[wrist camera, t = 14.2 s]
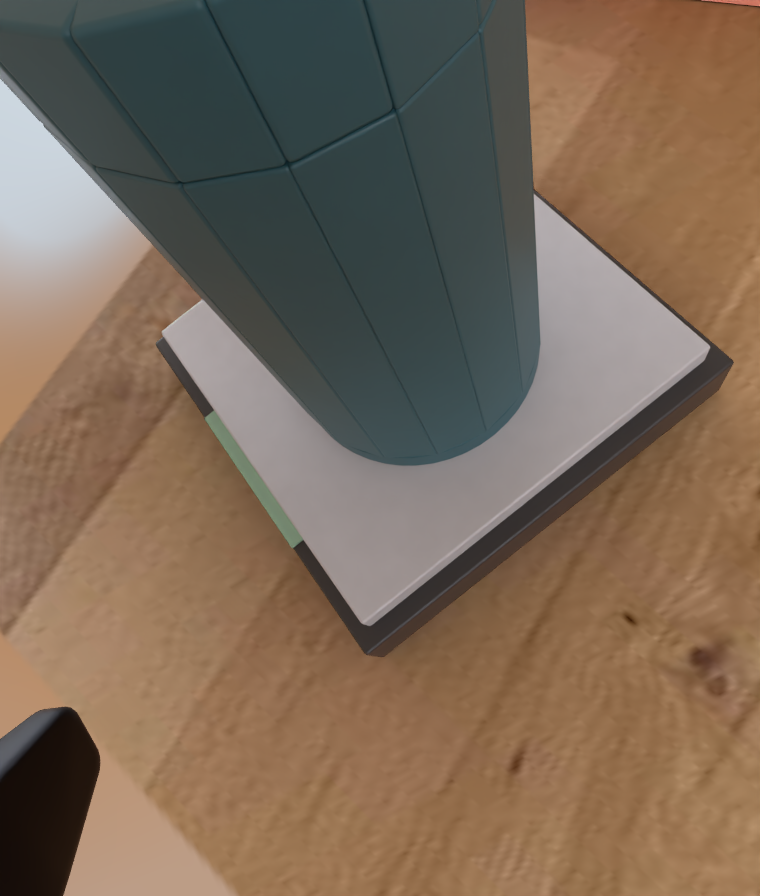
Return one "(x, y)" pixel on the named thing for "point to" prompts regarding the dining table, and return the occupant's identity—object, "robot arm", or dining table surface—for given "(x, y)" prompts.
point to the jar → (320, 189)
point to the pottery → (739, 2)
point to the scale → (473, 473)
